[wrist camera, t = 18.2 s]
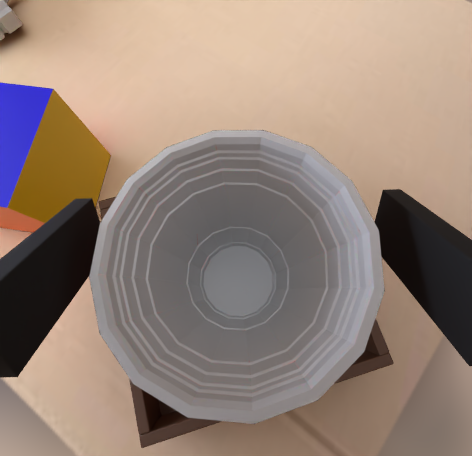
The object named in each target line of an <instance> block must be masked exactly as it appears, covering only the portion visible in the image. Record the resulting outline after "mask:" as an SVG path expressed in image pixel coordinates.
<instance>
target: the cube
mask: <svg viewBox="0 0 472 456" xmlns="http://www.w3.org/2000/svg"><path fill="white" fill-rule="evenodd" d="M110 156H111V155H110V154H109V152H108V151H107V150H106V149H105V148H104V147H103V145H102V144H101V143H100V142H99V141H98V140H97V139H96V137H95V136H94V135H93V134H92V133H91V132H90V131H89V129H88V128H87V127H86V126H85V125H84V124H83V122H82V121H81V120H80V119H79V118H78V117H77V116H76V114H75V113H74V112H73V111H72V110H71V109H70V108H69V106H68V105H67V104H66V103H65V102H64V101H63V100H62V98H61V97H60V96H59V95H58V94H57V93H56V91H55V90H54V89H50V88H42V87H33V86H25V85H16V84H7V83H0V228H7V229H14V230H21V231H28V232H35V231H36V230H37V229H38V228H40V227H41V226H42V225H43V224H45V223H46V222H47V221H48V220H50V219H51V218H52V217H53V216H55V215H56V214H57V213H58V212H60V211H61V210H62V209H63V208H65V207H66V206H67V205H68V204H70V203H71V202H72V201H73V200H74V199H83V198H92V199H93V202H94V205H95V207H96V204H97V200H98V197H99V193H100V190H101V187H102V183H103V180H104V177H105V173H106V170H107V166H108V163H109V160H110Z"/></svg>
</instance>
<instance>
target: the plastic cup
mask: <svg viewBox="0 0 472 456" xmlns="http://www.w3.org/2000/svg"><path fill="white" fill-rule="evenodd" d="M89 278H90V283H91V289H92V294H93V300H94V305H95V311H96V316H97V322H98V327H99V333H100V335H101V336H102V338H103V339H104V341H105V342H106V344H107V345H108V347H109V348H110V350H111V351H112V353H113V354H114V356H115V357H116V359H117V360H118V362H119V363H120V365H121V366H122V368H123V369H124V371H125V372H126V374H127V375H128V377H129V378H130V380H131V381H132V383H133V384H134V385H136V386H137V387H139V388H141V389H142V390H144V391H145V392H147V393H149V394H150V395H152V396H154V397H155V398H157V399H159V400H160V401H162V402H163V403H165V404H167V405H168V406H170V407H172V408H173V409H175V410H176V411H178V412H180V413H181V414H183V415H185V416H186V417H188V418H198V419H208V420H218V421H228V422H238V423H248V424H256V423H259V422H261V421H264V420H267V419H269V418H272V417H275V416H277V415H280V414H283V413H285V412H288V411H291V410H293V409H296V408H299V407H301V406H304V405H307V404H309V403H312V402H315V401H317V400H319V399H320V397H321V396H322V395H323V394H324V393H325V392H326V391H327V390H328V389H329V388H330V387H331V386H332V385H333V384H334V383H335V382H336V381H337V380H338V379H339V378H340V377H341V375H342V374H343V373H344V372H345V371H346V370H347V369H348V368H349V367H350V366H351V365H352V364H353V363H354V362H355V361H356V360H357V359H358V358H359V357H360V356H361V355H362V353H363V352H364V351H365V348H366V345H367V342H368V339H369V336H370V333H371V330H372V327H373V324H374V321H375V318H376V315H377V312H378V309H379V306H380V303H381V300H382V297H383V294H384V291H385V290H384V279H383V268H382V258H381V247H380V237H379V230H378V228H377V226H376V224H375V223H374V221H373V219H372V217H371V215H370V213H369V211H368V210H367V208H366V206H365V204H364V202H363V200H362V198H361V197H360V195H359V193H358V191H357V189H356V187H355V185H354V184H353V182H352V181H351V180H350V179H349V178H348V177H347V176H346V175H344V174H343V173H342V172H341V171H340V170H338V169H337V168H336V167H335V166H334V165H332V164H331V163H330V162H329V161H328V160H326V159H325V158H324V157H323V156H322V155H320V154H319V153H318V152H317V151H316V150H314V149H313V148H312V147H310V146H307V145H304V144H302V143H299V142H296V141H293V140H290V139H287V138H284V137H282V136H279V135H276V134H273V133H270V132H267V131H264V130H215V131H211V132H208V133H205V134H202V135H200V136H197V137H194V138H191V139H188V140H186V141H183V142H180V143H177V144H174V145H172V146H169V147H166V148H165V149H164V150H163V151H161V152H160V153H159V154H158V155H157V156H155V157H154V158H153V159H152V160H150V161H149V162H148V163H147V164H145V165H144V166H143V167H142V168H140V169H139V170H138V171H137V172H135V173H134V174H133V175H132V176H130V177H129V178H128V179H127V180H126V182H125V184H124V185H123V187H122V189H121V190H120V192H119V193H118V195H117V197H116V198H115V200H114V201H113V203H112V205H111V206H110V208H109V210H108V211H107V213H106V214H105V216H104V218H103V219H102V221H101V223H100V226H99V231H98V236H97V241H96V246H95V251H94V256H93V261H92V266H91V271H90V276H89Z"/></svg>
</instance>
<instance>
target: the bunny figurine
mask: <svg viewBox="0 0 472 456" xmlns="http://www.w3.org/2000/svg"><path fill="white" fill-rule="evenodd" d="M8 1H9V0H0V41H1V40H2V39H3V38H5V36H4V34H5V33H12V32H13V31H15V30H16V29H17V28H19V27H20V26H22V25H23V24H22V22H21V21H20V20H19V18H18V17H17V16H16V14H15V13H14V12H13V10H12V9H11V8H10V7H9V6H8V5H7V4H6V3H7V2H8Z"/></svg>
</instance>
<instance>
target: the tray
mask: <svg viewBox="0 0 472 456" xmlns="http://www.w3.org/2000/svg"><path fill="white" fill-rule="evenodd" d="M115 198H116V197H113V198H110V199H106V200H102V201H99V206H100V212H101V217H102V219H103V218H104V216H105V214H106V213H107V211H108V210H109V208H110V206H111V205H112V203H113V201H114V200H115ZM392 364H393V360H392V358H391V356H390V353H389V350H388V348H387V345H386V343H385V340H384V338H383V335H382V333H381V331H380V328H379V326H378V323H377V321H376V318H375V321H374V324H373V327H372V330H371V333H370V336H369V339H368V342H367V345H366V348H365V351H364V352H363V353H362V355H361V356H360V357H359V358H358V359H357V360H356V361H355V362H354V363H353V364H352V365H351V366H350V367H349V368H348V369H347V370H346V371H345V372H344V373H343V374H342V375H341V377H340V378H339V379H338V380H337V381H336V382H335V383H338V382H341V381H344V380H347V379H350V378H353V377H356V376H359V375H362V374H365V373H368V372H371V371H374V370H377V369H380V368H383V367H386V366H389V365H392ZM129 379H130V378H129ZM335 383H334V384H335ZM130 385H131V391H132V397H133V403H134V408H135V414H136V420H137V426H138V431H139V435H140V436H139V437H140V443H141V448H144V447H147V446H150V445H153V444H156V443H159V442H162V441H165V440H168V439H171V438H174V437H177V436H180V435H183V434H186V433H189V432H191V431H194V430H197V429H200V428H203V427H206V426H209V425H212V424H215V423H218V422H221V421H218V420H208V419H198V418H188V417H186V416H185V415H183V414H181V413H180V412H178V411H176V410H175V409H173V408H172V407H170V406H168V405H167V404H165V403H163V402H162V401H160V400H159V399H157V398H155V397H154V396H152V395H150V394H149V393H147V392H145V391H144V390H142V389H141V388H139V387H137V386H136V385H134V384H133V383H132V381H131V380H130Z"/></svg>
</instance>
